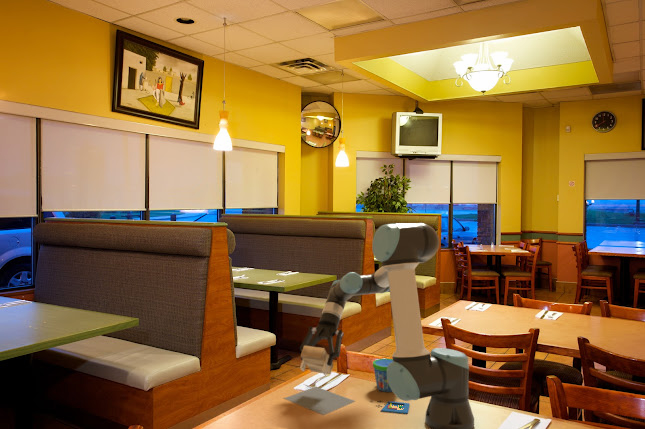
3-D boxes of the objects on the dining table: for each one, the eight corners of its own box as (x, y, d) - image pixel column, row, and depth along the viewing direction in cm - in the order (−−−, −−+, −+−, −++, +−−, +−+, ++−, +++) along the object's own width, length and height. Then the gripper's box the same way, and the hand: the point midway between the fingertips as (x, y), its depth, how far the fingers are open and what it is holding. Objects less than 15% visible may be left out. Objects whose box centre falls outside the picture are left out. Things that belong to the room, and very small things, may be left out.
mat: (355, 402, 178) (355, 401, 178) (323, 416, 166) (323, 415, 166) (315, 388, 192) (315, 386, 192) (283, 400, 180) (283, 398, 180)
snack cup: (370, 381, 198) (370, 356, 198) (397, 381, 198) (397, 355, 198) (375, 397, 182) (375, 369, 182) (404, 397, 183) (404, 369, 182)
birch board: (314, 361, 191) (304, 345, 183) (333, 364, 188) (324, 347, 180) (311, 371, 189) (300, 355, 181) (330, 374, 185) (320, 358, 177)
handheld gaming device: (367, 398, 180) (409, 402, 176) (367, 401, 180) (409, 405, 176) (363, 407, 172) (407, 412, 168) (363, 410, 172) (407, 415, 168)
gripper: (358, 325, 193) (342, 380, 179) (309, 319, 202) (290, 372, 188) (353, 314, 188) (336, 370, 174) (303, 309, 197) (283, 362, 183)
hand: (312, 371), depth 181 cm, fingers closed on birch board, 8 cm apart
